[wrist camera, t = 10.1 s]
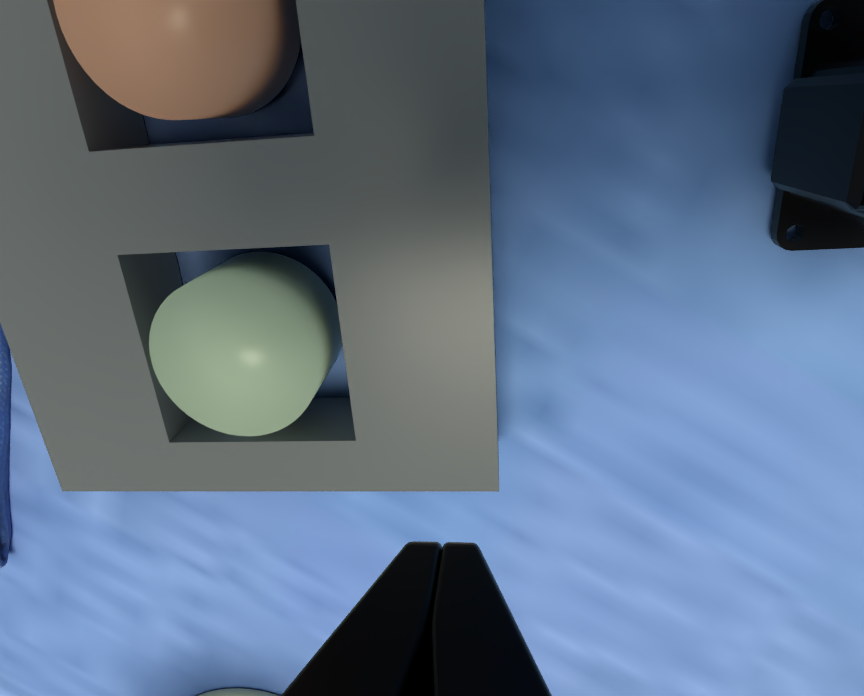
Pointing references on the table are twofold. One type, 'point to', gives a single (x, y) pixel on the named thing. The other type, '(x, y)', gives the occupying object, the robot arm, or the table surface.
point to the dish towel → (4, 446)
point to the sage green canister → (237, 692)
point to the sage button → (246, 343)
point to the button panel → (260, 228)
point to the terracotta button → (184, 52)
